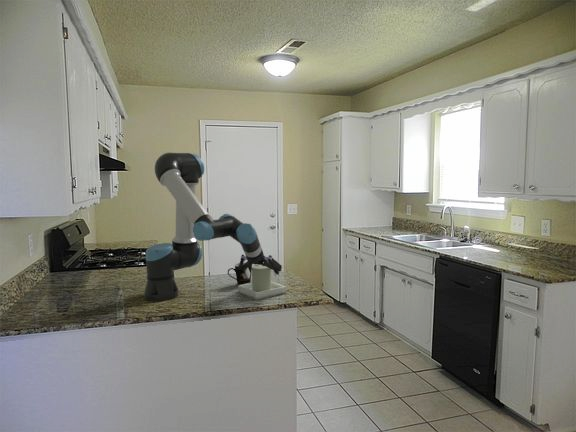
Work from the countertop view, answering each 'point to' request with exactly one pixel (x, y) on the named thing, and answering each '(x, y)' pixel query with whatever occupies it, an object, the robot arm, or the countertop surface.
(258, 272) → the can
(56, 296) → the countertop surface
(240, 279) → the coffee mug
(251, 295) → the bin
